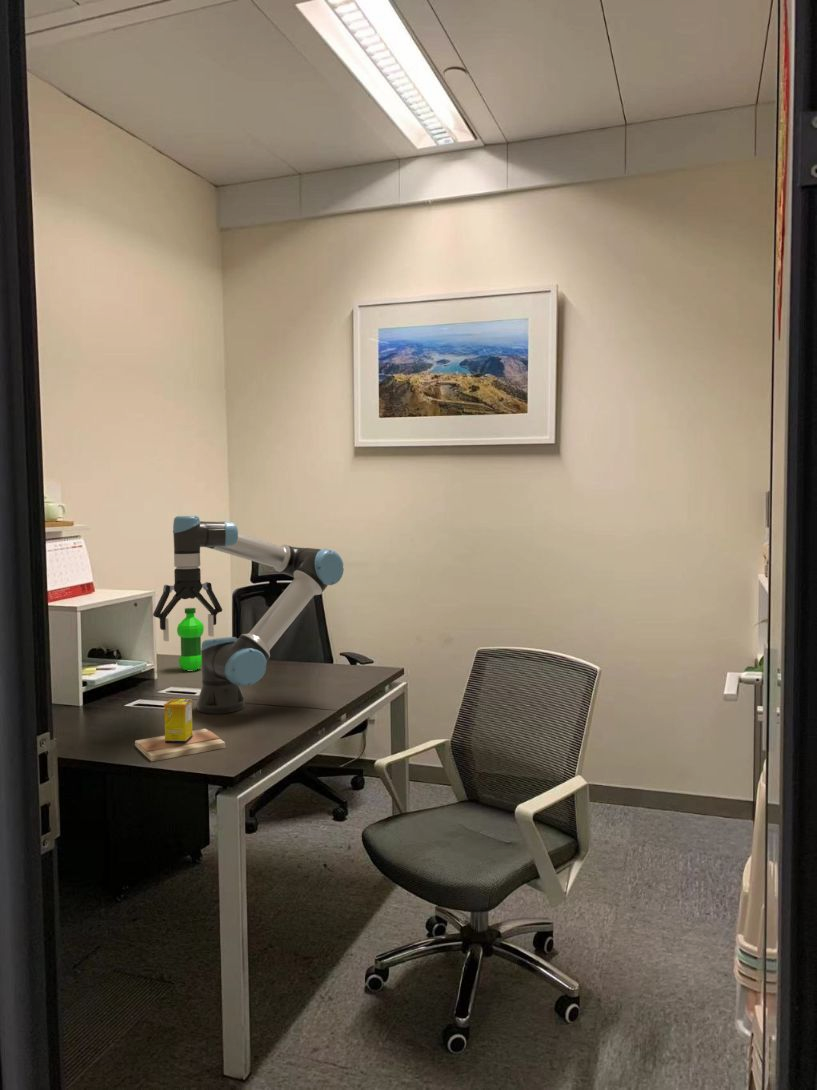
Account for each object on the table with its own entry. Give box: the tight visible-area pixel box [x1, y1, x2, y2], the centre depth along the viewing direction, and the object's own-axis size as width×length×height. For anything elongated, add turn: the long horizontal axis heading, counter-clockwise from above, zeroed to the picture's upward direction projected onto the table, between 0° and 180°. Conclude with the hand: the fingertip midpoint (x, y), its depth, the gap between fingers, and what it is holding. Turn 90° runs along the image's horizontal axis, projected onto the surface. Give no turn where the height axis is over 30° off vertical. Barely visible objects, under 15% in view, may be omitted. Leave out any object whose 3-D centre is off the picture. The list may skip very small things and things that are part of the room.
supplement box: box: [163, 698, 193, 743], centre depth 216 cm, size 6×6×11 cm
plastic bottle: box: [176, 607, 205, 671], centre depth 314 cm, size 10×10×25 cm
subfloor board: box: [134, 728, 226, 763], centre depth 216 cm, size 20×16×2 cm
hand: (188, 638), depth 234 cm, fingers open, 13 cm apart
